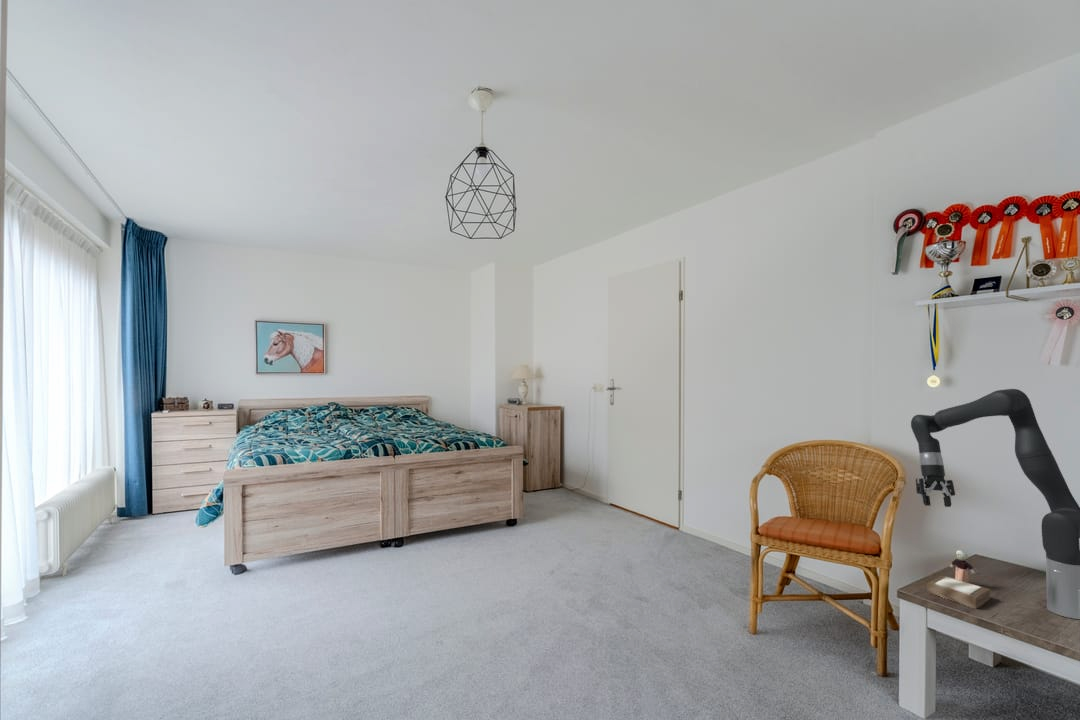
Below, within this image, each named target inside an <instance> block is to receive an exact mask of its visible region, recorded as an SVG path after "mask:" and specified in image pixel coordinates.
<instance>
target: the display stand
mask: <svg viewBox="0 0 1080 720" xmlns="http://www.w3.org/2000/svg"><path fill="white" fill-rule="evenodd" d="M927 592H929V593H932V594H935V595H938V596H940V597H939V598H941V597H943V598H942V599H944V598H946V599H945V600H947V599H949V600H948V601H950V600H952V601H951V602H953V601H955V602H954V603H956V602H958V603H957V604H959V603H960V605H962V604H963V605H962V606H965V605H966V607H968V606H969V608H972V609H974V610H976V609H978V608H980V607H981V606H982V605H984V604H985V602H986V603H987V602H988V600H989V601H990V600H991V589H990V588H986V587H984V586H980V585H977V584H973V583H969V582H968V583H967V582H963V581H960V580H956V579H955V578H953V577H950V576H945V575H940V576H937V577H936V578H934V579H932V580H930V581H929V582H927V583H926V593H927ZM935 595H934V596H935ZM938 596H937V597H938Z"/></svg>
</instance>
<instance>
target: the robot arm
mask: <svg viewBox="0 0 1080 720" xmlns="http://www.w3.org/2000/svg"><path fill="white" fill-rule="evenodd" d="M998 416H999V417H1001V416H1002V417H1006V416H1007V417H1008V418H1009V420H1010V422H1011V424H1012V427H1013V429H1014V433H1015V436H1014V438H1015V439H1014V454H1015V456H1016V460H1017V462H1018V464H1019V467H1020V468H1021V470H1022V473H1024V475H1025V477H1027V479H1028V480H1029V481H1030V482H1031V484H1032V485H1034V486H1035V487H1036V488H1037V489H1038V490H1039V492H1040V493H1041V494H1042V496H1043V497H1044V499H1045V501H1046V503H1047V505H1048V507H1049V511H1050V512H1048V513H1046V514H1045V515H1044V516H1043V518H1042V520H1041V538H1042V541H1041V542H1042V547H1043V550H1044V551H1045V568H1046V569H1045V570H1046V571H1045V574H1046V579H1045V580H1046V609H1047V610H1048V611H1049V612H1051V613H1053V614H1056V615H1058V616H1061V617H1063V618H1064V617H1065V618H1069V619H1075V620H1080V505H1079V504H1078V502H1077V500H1076V499H1075V498H1074V496H1073V494H1072V493H1071V490H1070V489H1069V486H1068V484H1067V482H1066V479H1065V478H1064V476H1063V474H1062V471H1061V469H1060V467H1059V464H1058V462H1057V460H1056V458H1055V456H1054V454H1053V452H1052V450H1051V448H1050V447H1049V444H1048V442H1047V441H1046V438H1045V436H1044V434H1043V432H1042V430H1041V427H1040V425H1039V423H1038V421H1037V418H1036V413H1035V411H1034V409H1033V406H1032V403H1031V401H1030V398H1029V397H1028V395H1027V394H1026V393H1025V392H1024V391H1022V390H1020V389H1017V388H1008V389H1006V388H1005V389H999V390H995V391H992V392H991V393H988V394H986V395H984V396H982V397H980V398H978V399H975V400H973V401H969V402H967V403H963V404H959V405H955V406H952V407H948V408H944V409H940V410H938V411H936V412H935V413H934V415H927V414H915V415H914V416H913V417H912V419H911V421H910V427H911V430H912V432H913V435H914V437H915V440H916V441H917V443H918V452H919V464H920V466H919V467H920V470H921V471H920V472H921V476H922V477H923V478H915V489H916V494H917V495H921V496H922V502H923V505H924V506H928V507H930V506H931V504H932V503H931V499H930V494H931V492H933V491H937V492H939V493H941V494H942V496H943V497H942V498H943V505H944V507H946V508H951V506H952V499H951V497H953V496H956V491H955V486H954V482H953V480H952V479H946V480H945V477H946V471H945V466H944V459H943V456H942V451H941V444H940V441H939V440H938V438H936V437H934V436H932V434H936V433H939V432H942V431H944V430H946V429H948V428H950V427H951V428H952V427H955V426H960V425H964V424H966V423H969V422H971V421H974V420H976V419H981V418H985V417H986V418H987V417H998Z"/></svg>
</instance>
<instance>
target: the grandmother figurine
mask: <svg viewBox="0 0 1080 720" xmlns="http://www.w3.org/2000/svg"><path fill="white" fill-rule="evenodd" d="M968 558H969V556H968V554H967V552H965V551H963V550H956V558H955V559H954V560H952V561H951V562H950V565H949V567H950V568H951V569H953V568H954V567H955V566H956V567H955V577H954V579H956V580H960V581H963V582H967V583H969V582H968V581H969V574H968V573H969V572H968V570H970V573H971V574H973V575H975V574H976V572H975V570H974V567H973V566H972V565H971V563H969V562H967V561H966V559H968Z"/></svg>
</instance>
